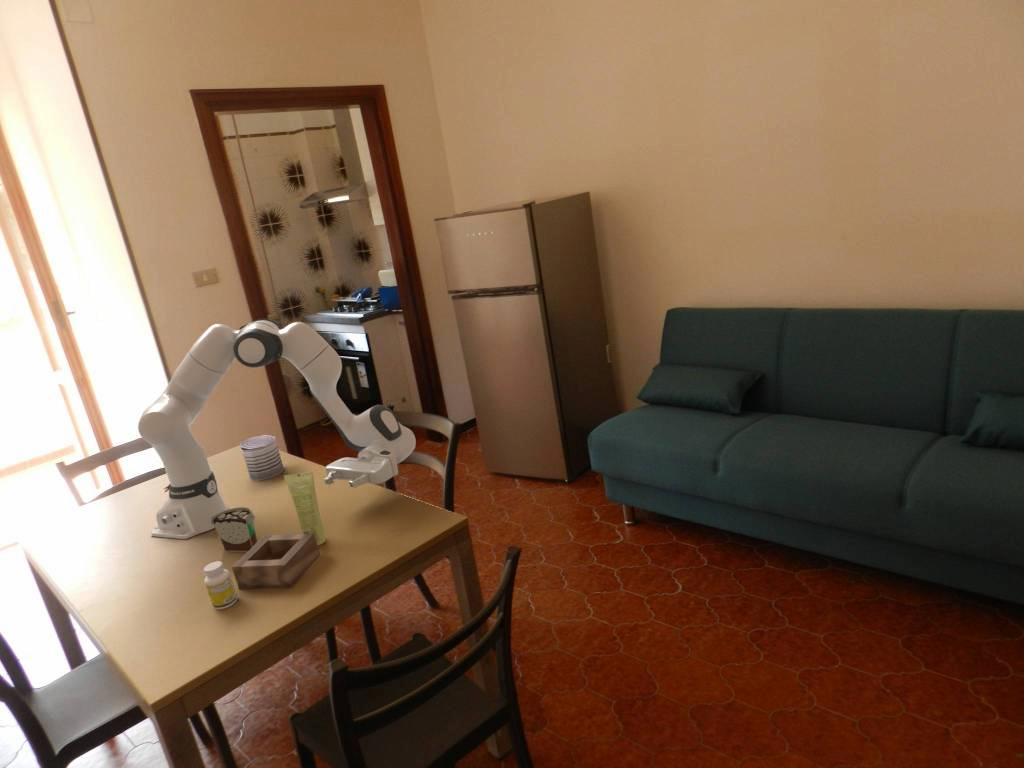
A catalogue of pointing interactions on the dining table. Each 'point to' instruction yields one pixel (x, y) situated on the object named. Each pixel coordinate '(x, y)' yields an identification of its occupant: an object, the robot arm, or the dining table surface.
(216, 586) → the supplement bottle
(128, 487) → the dining table surface
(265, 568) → the organiser
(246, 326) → the robot arm
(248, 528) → the food container
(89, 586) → the dining table surface
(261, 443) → the can
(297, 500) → the tube
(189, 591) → the dining table surface
